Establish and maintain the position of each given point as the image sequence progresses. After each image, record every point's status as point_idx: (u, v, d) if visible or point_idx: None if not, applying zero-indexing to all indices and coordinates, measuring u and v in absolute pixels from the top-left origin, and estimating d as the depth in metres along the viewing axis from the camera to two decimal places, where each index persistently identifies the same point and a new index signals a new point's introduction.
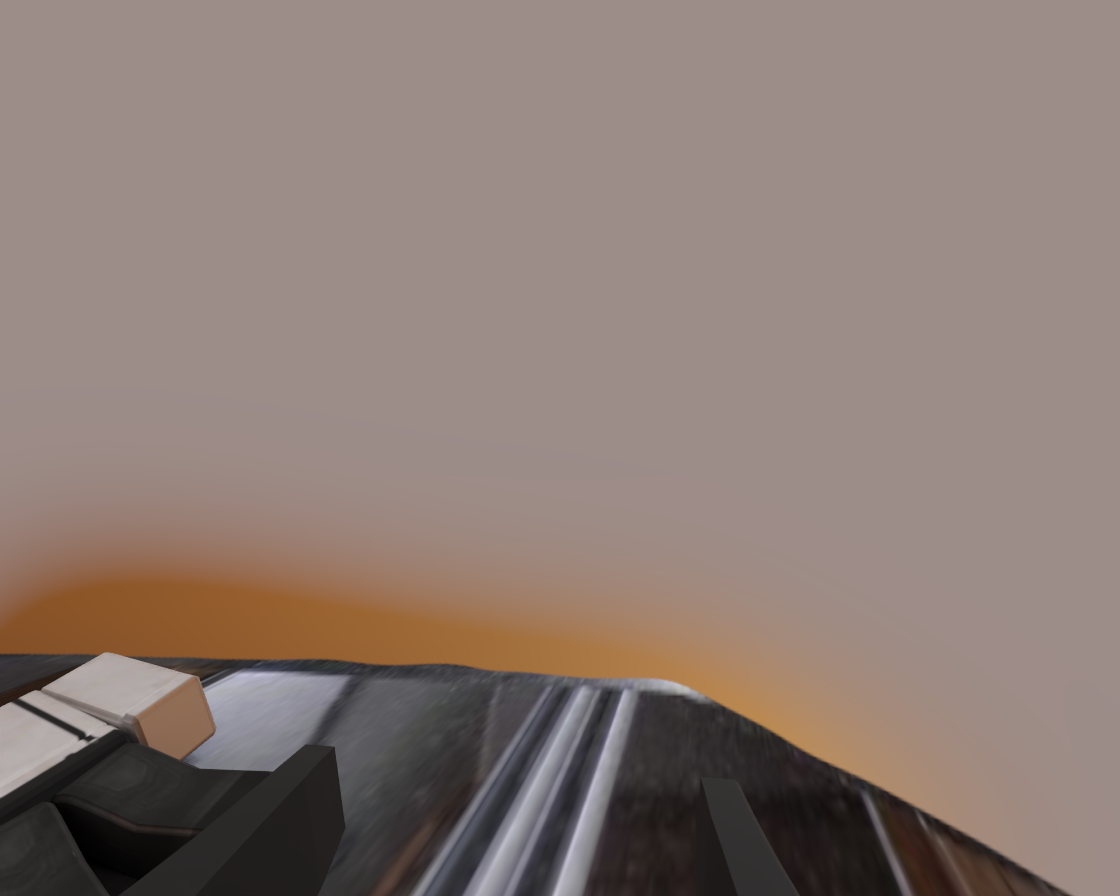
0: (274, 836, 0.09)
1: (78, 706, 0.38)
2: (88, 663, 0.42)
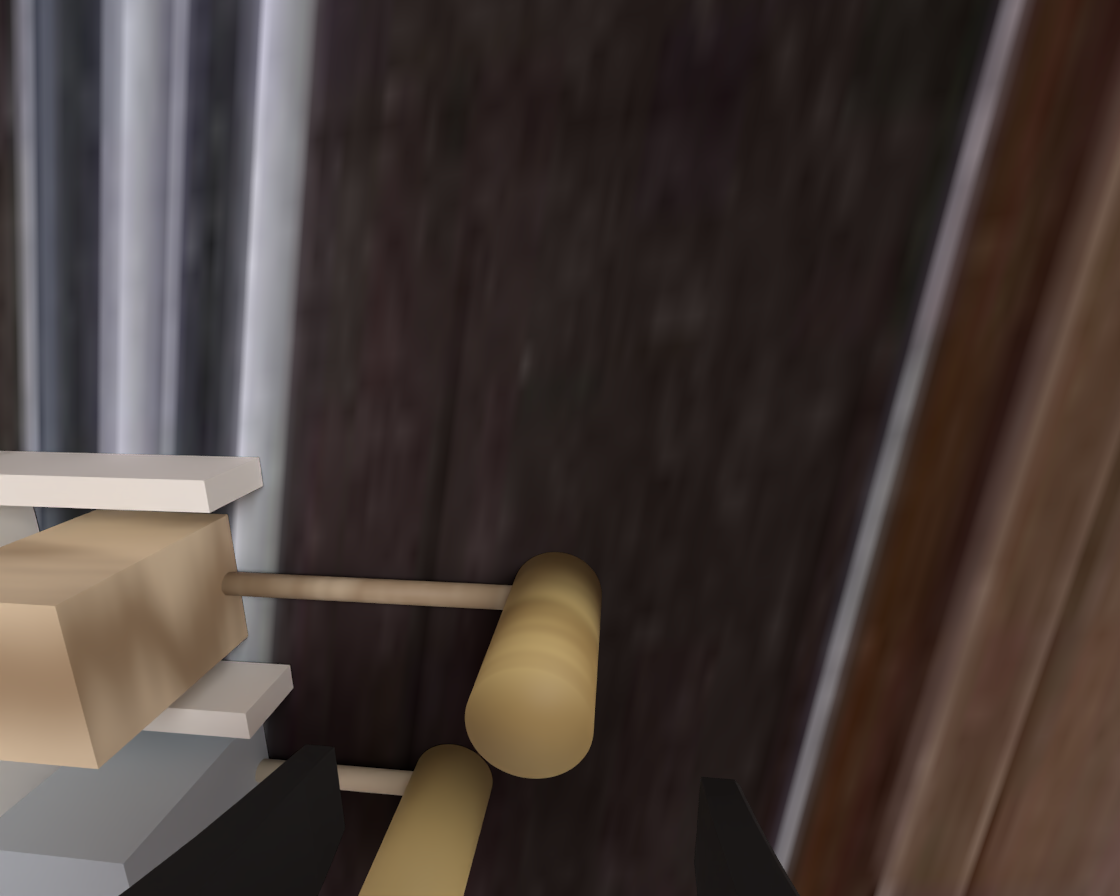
0: (274, 836, 0.09)
1: None
2: None
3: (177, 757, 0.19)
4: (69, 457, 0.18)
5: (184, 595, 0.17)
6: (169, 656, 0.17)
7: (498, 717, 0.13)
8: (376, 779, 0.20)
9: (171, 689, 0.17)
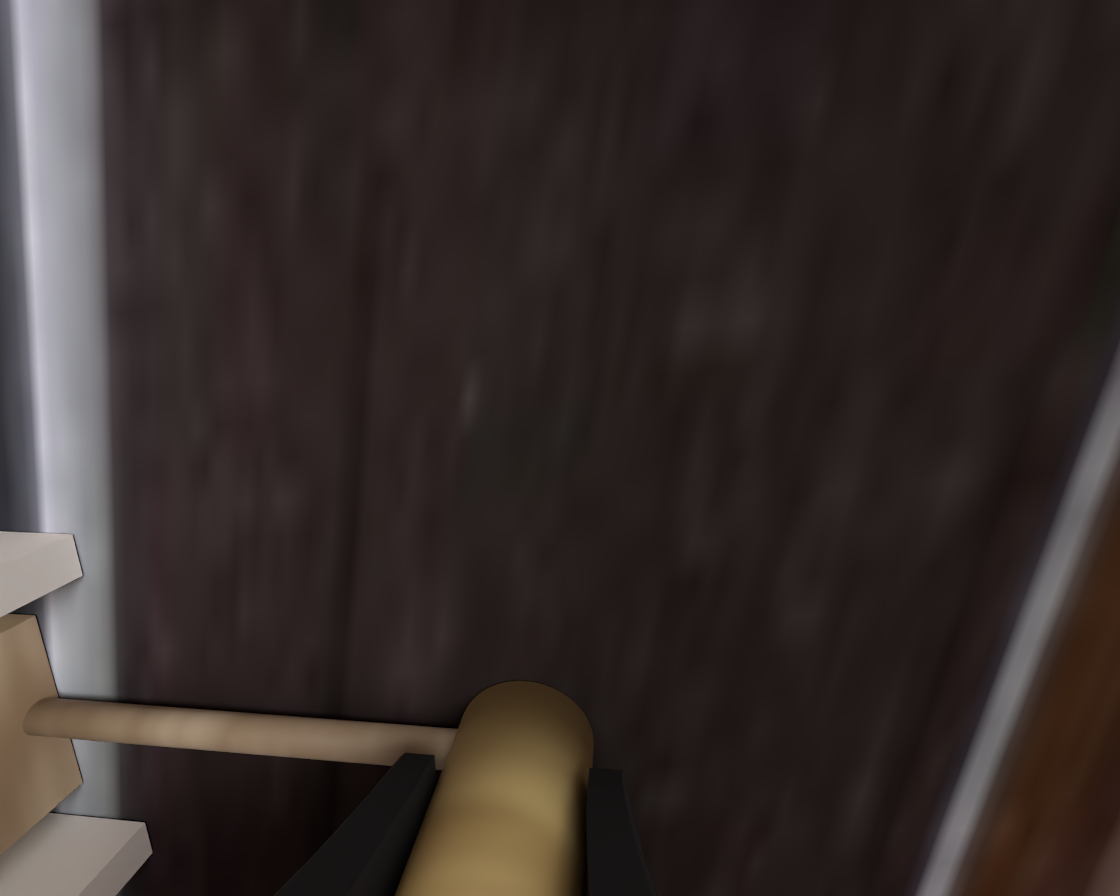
0: (393, 847, 0.09)
1: None
2: None
3: None
4: None
5: None
6: None
7: None
8: None
9: None
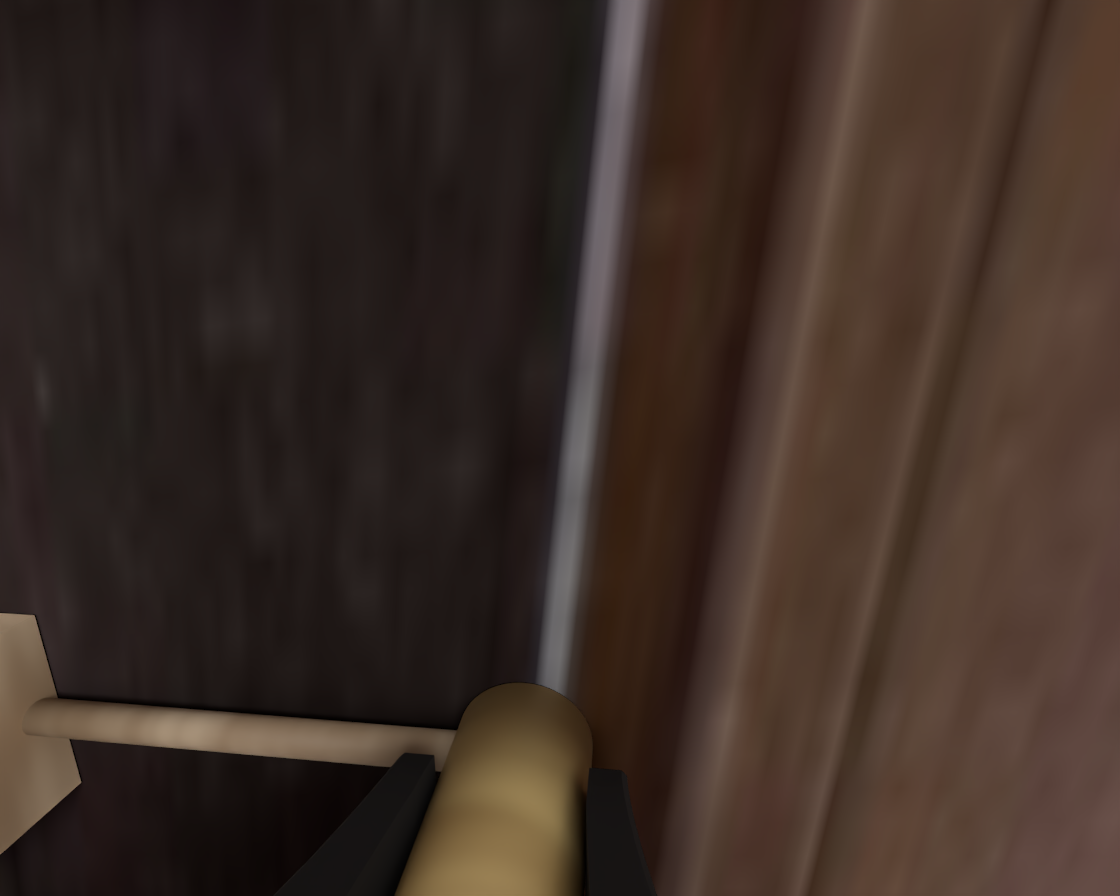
0: (393, 847, 0.09)
1: None
2: None
3: None
4: None
5: None
6: None
7: None
8: None
9: None
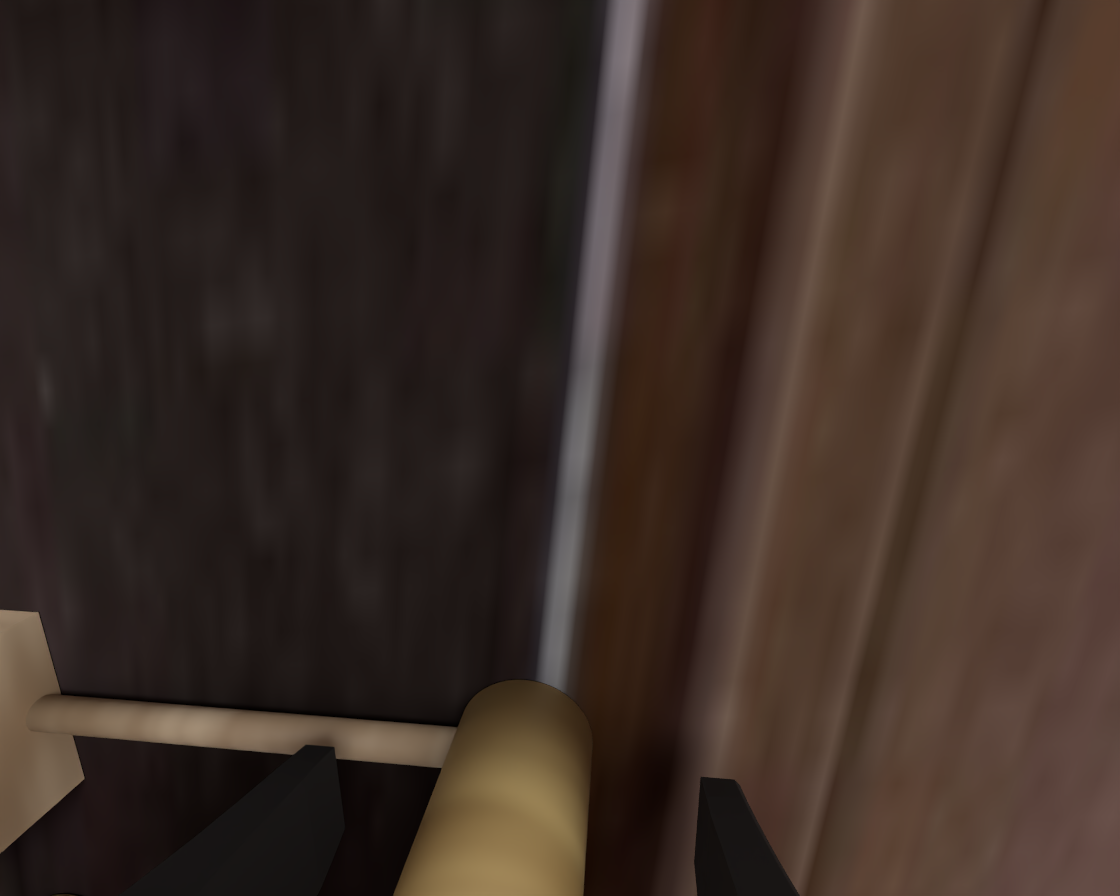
0: (274, 836, 0.09)
1: None
2: None
3: None
4: None
5: None
6: None
7: None
8: None
9: None
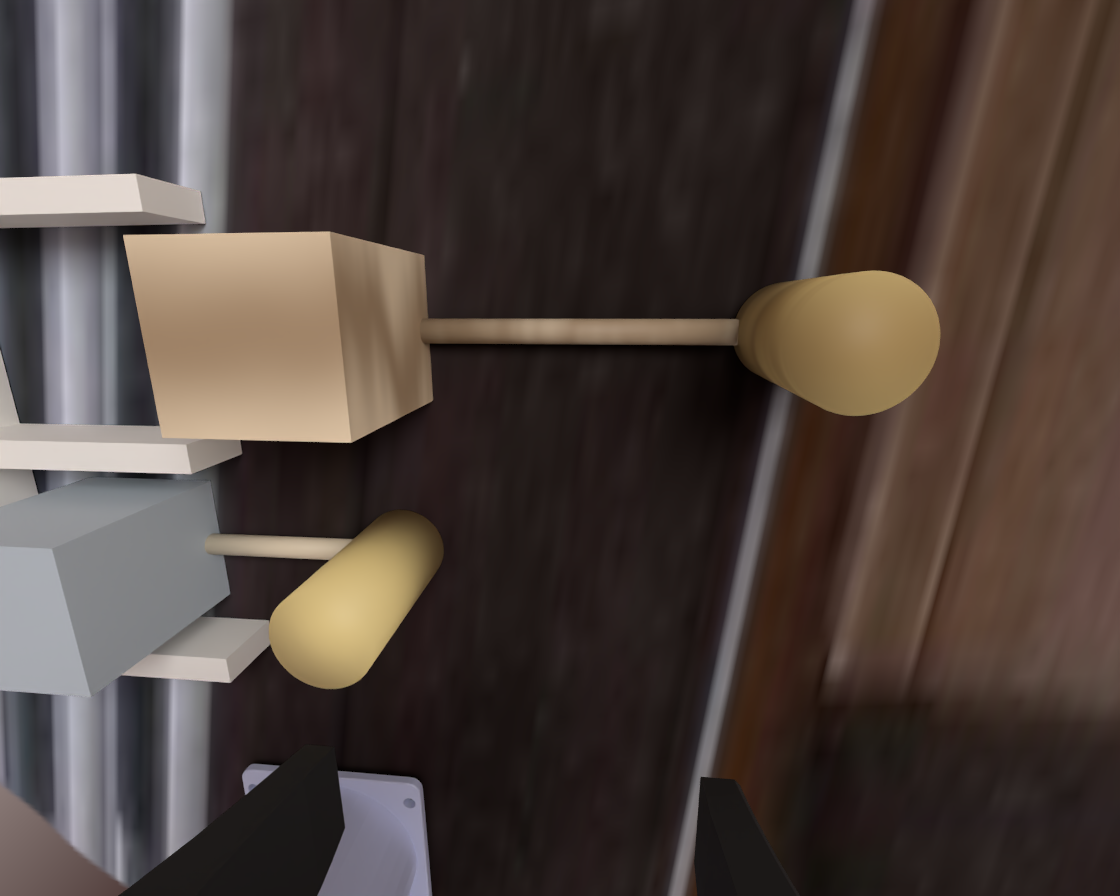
0: (273, 836, 0.09)
1: None
2: None
3: (119, 501, 0.18)
4: None
5: (400, 313, 0.16)
6: (391, 368, 0.15)
7: (829, 338, 0.11)
8: (325, 544, 0.20)
9: (392, 405, 0.15)
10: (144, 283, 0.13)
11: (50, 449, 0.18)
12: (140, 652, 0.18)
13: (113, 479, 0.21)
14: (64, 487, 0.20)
